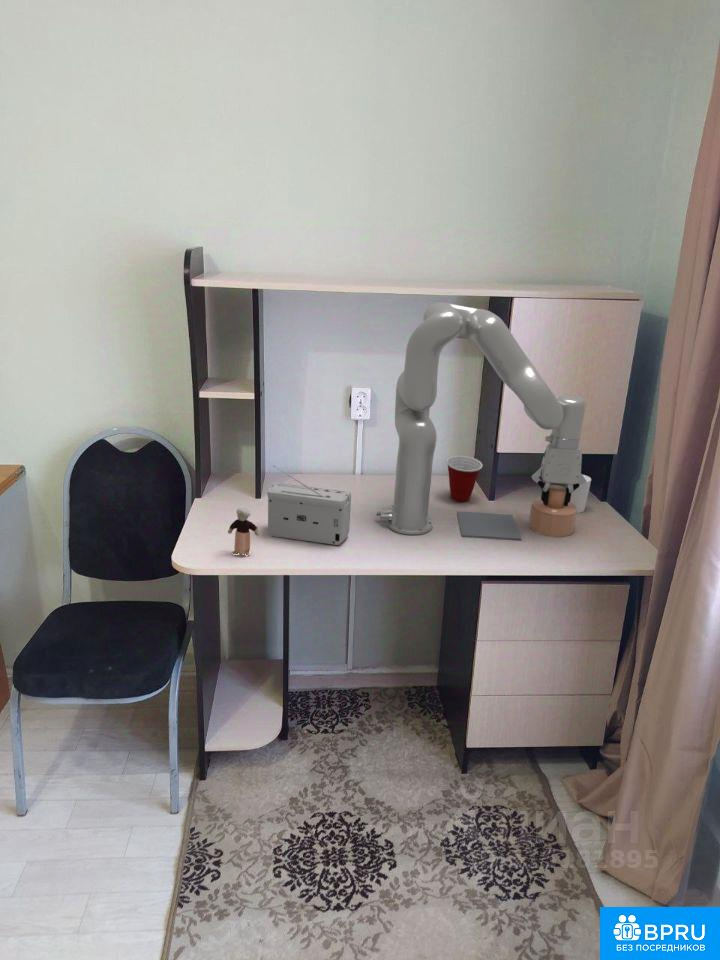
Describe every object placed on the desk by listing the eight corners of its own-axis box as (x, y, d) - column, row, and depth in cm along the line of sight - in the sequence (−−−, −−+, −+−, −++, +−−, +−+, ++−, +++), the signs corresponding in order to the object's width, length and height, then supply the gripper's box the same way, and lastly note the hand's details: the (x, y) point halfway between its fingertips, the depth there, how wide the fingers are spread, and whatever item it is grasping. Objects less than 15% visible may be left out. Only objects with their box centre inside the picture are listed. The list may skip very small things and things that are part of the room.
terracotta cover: (533, 535, 200) (539, 495, 195) (526, 517, 211) (531, 479, 206) (577, 538, 199) (584, 498, 195) (567, 520, 210) (574, 482, 206)
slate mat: (461, 536, 196) (461, 534, 196) (456, 512, 211) (457, 511, 211) (521, 540, 196) (521, 538, 196) (512, 516, 211) (512, 514, 211)
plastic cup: (450, 507, 215) (454, 468, 211) (437, 493, 225) (441, 456, 220) (484, 504, 218) (489, 467, 214) (469, 491, 228) (474, 455, 223)
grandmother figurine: (227, 557, 178) (226, 510, 174) (228, 550, 182) (227, 503, 177) (258, 557, 179) (258, 510, 175) (259, 550, 183) (259, 504, 178)
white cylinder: (573, 514, 215) (578, 482, 211) (558, 505, 220) (563, 475, 217) (590, 511, 217) (596, 480, 214) (575, 503, 223) (580, 472, 219)
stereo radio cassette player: (349, 535, 194) (353, 465, 186) (342, 549, 186) (346, 476, 179) (274, 525, 197) (275, 455, 190) (264, 537, 190) (264, 465, 182)
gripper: (535, 444, 193) (526, 507, 199) (600, 448, 192) (588, 511, 199) (530, 435, 200) (521, 496, 206) (593, 439, 199) (582, 500, 206)
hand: (554, 503), depth 202 cm, fingers closed on terracotta cover, 5 cm apart
